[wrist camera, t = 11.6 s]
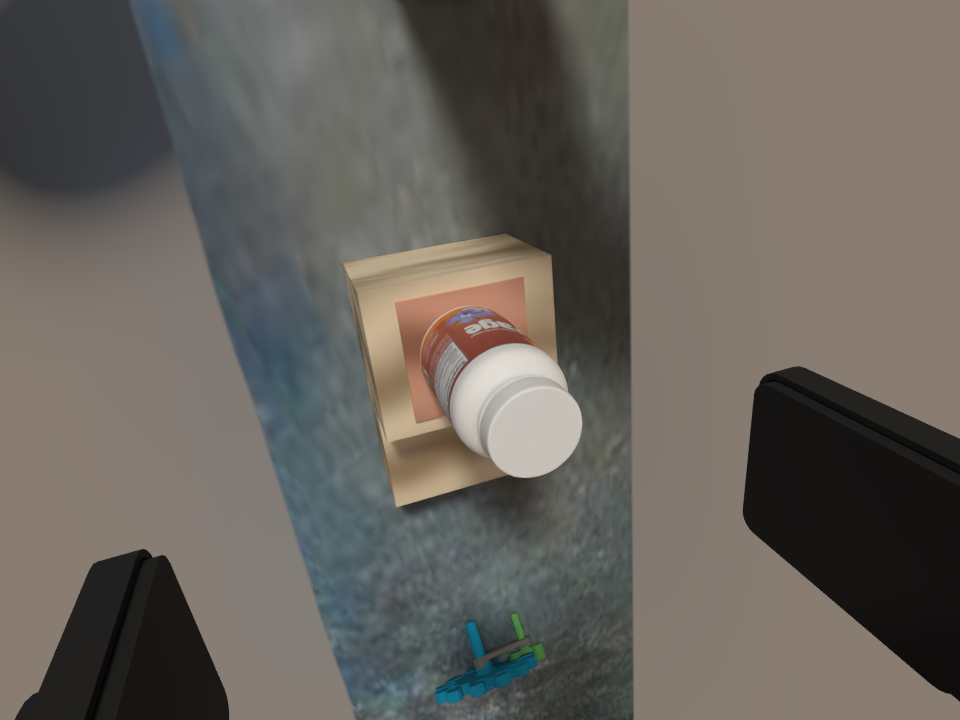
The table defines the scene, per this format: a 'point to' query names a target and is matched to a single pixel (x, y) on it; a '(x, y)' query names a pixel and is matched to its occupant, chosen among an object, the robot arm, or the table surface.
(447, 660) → the table surface
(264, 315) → the table surface
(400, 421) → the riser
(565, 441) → the pill bottle
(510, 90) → the table surface
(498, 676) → the gear
